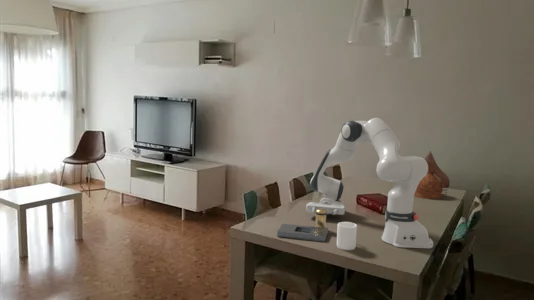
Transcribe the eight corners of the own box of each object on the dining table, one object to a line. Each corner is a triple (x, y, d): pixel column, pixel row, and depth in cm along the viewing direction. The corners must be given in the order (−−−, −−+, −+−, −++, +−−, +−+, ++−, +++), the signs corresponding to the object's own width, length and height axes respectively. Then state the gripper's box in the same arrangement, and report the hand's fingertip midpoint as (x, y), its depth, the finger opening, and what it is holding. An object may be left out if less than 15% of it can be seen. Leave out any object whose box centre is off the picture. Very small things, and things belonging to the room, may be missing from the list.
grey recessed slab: (327, 233, 208) (327, 228, 208) (324, 241, 197) (325, 236, 196) (282, 228, 213) (282, 223, 213) (277, 236, 202) (277, 231, 202)
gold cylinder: (326, 228, 215) (327, 209, 214) (325, 232, 210) (326, 212, 208) (315, 227, 216) (316, 208, 215) (314, 231, 211) (314, 210, 210)
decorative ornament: (404, 196, 286) (408, 150, 281) (409, 190, 302) (412, 147, 298) (447, 201, 274) (451, 154, 270) (449, 195, 291) (452, 150, 287)
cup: (334, 248, 188) (335, 226, 187) (340, 240, 199) (341, 218, 198) (353, 251, 185) (354, 228, 184) (359, 242, 196) (360, 221, 195)
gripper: (308, 198, 239) (303, 204, 226) (345, 201, 234) (344, 208, 221) (307, 209, 240) (303, 216, 226) (345, 212, 235) (343, 220, 222)
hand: (323, 212), depth 224 cm, fingers open, 8 cm apart
